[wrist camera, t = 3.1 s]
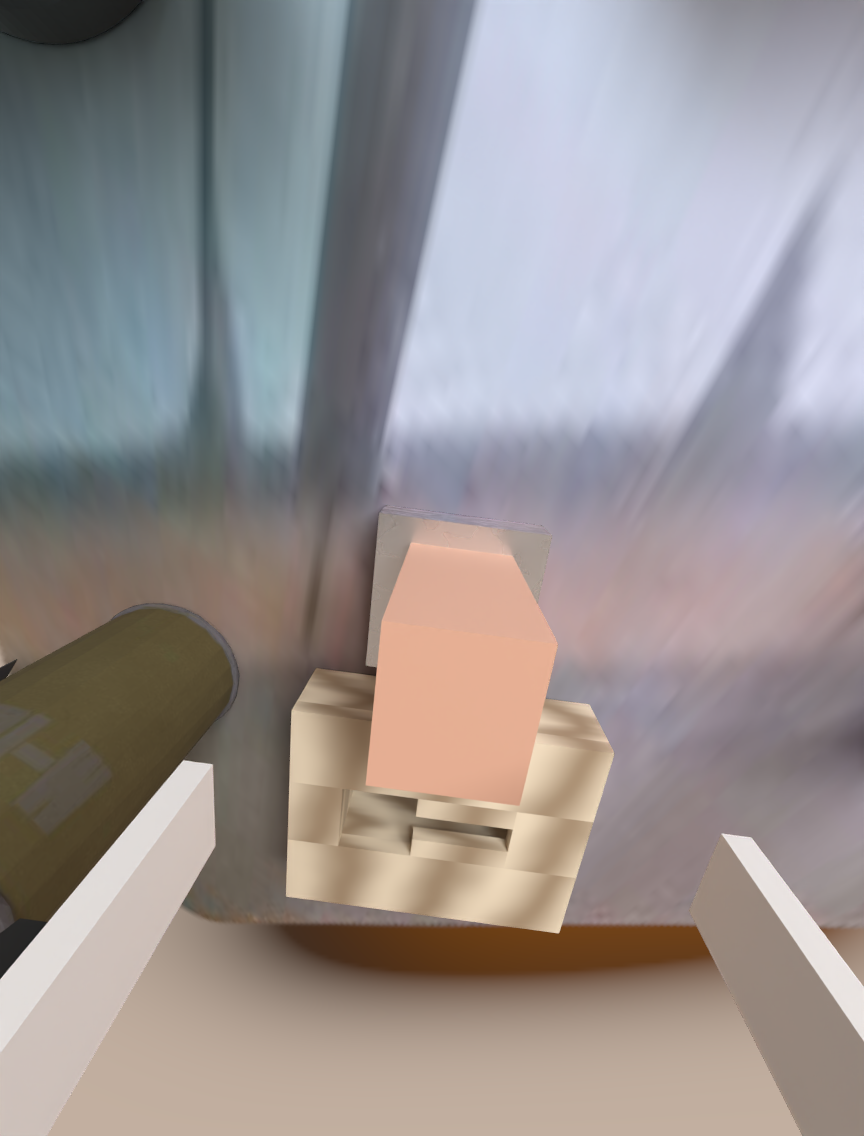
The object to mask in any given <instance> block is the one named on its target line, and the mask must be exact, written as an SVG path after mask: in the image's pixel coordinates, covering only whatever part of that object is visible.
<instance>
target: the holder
mask: <svg viewBox="0 0 864 1136" xmlns="http://www.w3.org/2000/svg"><path fill="white" fill-rule="evenodd" d="M551 539H552V535H551V534H550V533H549V532H548V531H547V530H546V529H545V528H544V527H543V526H542V525H535V524H527V523H520V522H512V521H504V520H497V519H489V518H482V517H474V516H466V515H459V514H451V513H444V512H436V511H429V510H421V509H413V508H406V507H398V506H391V505H386V506H385V507H384V508H383V509H382V510H381V511H380V513H379V521H378V532H377V544H376V555H375V566H374V578H373V589H372V600H371V611H370V623H369V634H368V645H367V657H366V666H371V667H377V664H378V653H379V643H380V633H381V623H382V619H383V616H384V613H385V611H386V608H387V605H388V603H389V600H390V597H391V595H392V592H393V589H394V587H395V584H396V581H397V578H398V576H399V573H400V570H401V568H402V565H403V562H404V560H405V557H406V554H407V552H408V549H409V546H410V544H411V543H418V544H425V545H433V546H440V547H448V548H456V549H463V550H471V551H478V552H486V553H493V554H501V555H509V556H513V557H514V559H515V561H516V563H517V565H518V567H519V569H520V571H521V573H522V575H523V577H524V579H525V581H526V583H527V585H528V587H529V588H530V590H531V592H532V594H533V596H534V598H535V600H536V602H537V604H538V599H539V595H540V590H541V585H542V581H543V576H544V572H545V567H546V562H547V558H548V553H549V548H550V544H551Z"/></svg>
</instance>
